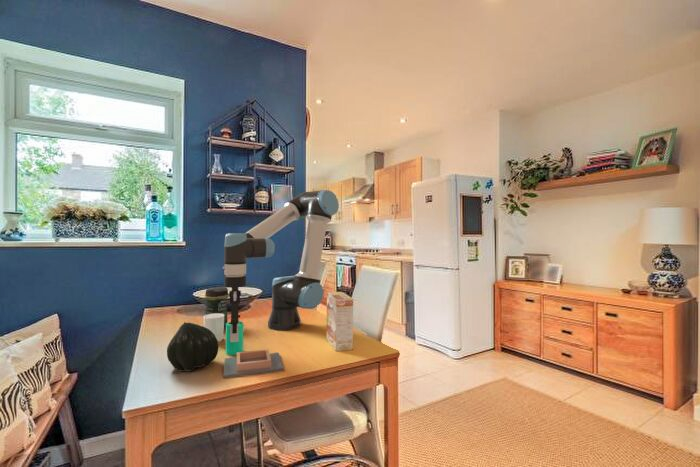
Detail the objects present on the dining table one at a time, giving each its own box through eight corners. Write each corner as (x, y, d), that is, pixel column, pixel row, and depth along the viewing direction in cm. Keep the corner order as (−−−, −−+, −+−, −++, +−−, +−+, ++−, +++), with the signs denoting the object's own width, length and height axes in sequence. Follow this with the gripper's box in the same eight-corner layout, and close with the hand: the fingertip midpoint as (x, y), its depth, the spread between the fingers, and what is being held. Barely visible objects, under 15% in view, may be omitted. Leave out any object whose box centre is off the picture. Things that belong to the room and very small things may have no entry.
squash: (229, 351, 106) (213, 311, 112) (180, 366, 95) (166, 321, 101) (214, 370, 113) (201, 332, 120) (168, 387, 102) (155, 344, 109)
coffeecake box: (325, 339, 136) (326, 292, 136) (342, 337, 138) (342, 291, 138) (335, 351, 122) (335, 299, 122) (353, 349, 124) (354, 298, 124)
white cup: (216, 344, 128) (217, 318, 128) (198, 342, 130) (199, 317, 129) (228, 338, 136) (228, 313, 136) (211, 336, 137) (211, 312, 137)
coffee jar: (213, 332, 143) (214, 289, 143) (201, 329, 147) (201, 287, 147) (231, 326, 152) (231, 286, 152) (219, 324, 156) (219, 285, 156)
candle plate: (278, 354, 118) (278, 346, 118) (283, 370, 105) (283, 361, 105) (224, 360, 112) (225, 351, 112) (223, 378, 99) (223, 368, 99)
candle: (224, 355, 116) (225, 321, 116) (226, 349, 122) (226, 317, 122) (242, 354, 118) (243, 320, 118) (243, 348, 124) (243, 316, 124)
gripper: (225, 272, 128) (224, 332, 128) (223, 279, 110) (222, 348, 110) (245, 272, 130) (244, 330, 130) (246, 278, 112) (245, 346, 112)
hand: (234, 338), depth 120 cm, fingers closed on candle, 6 cm apart
